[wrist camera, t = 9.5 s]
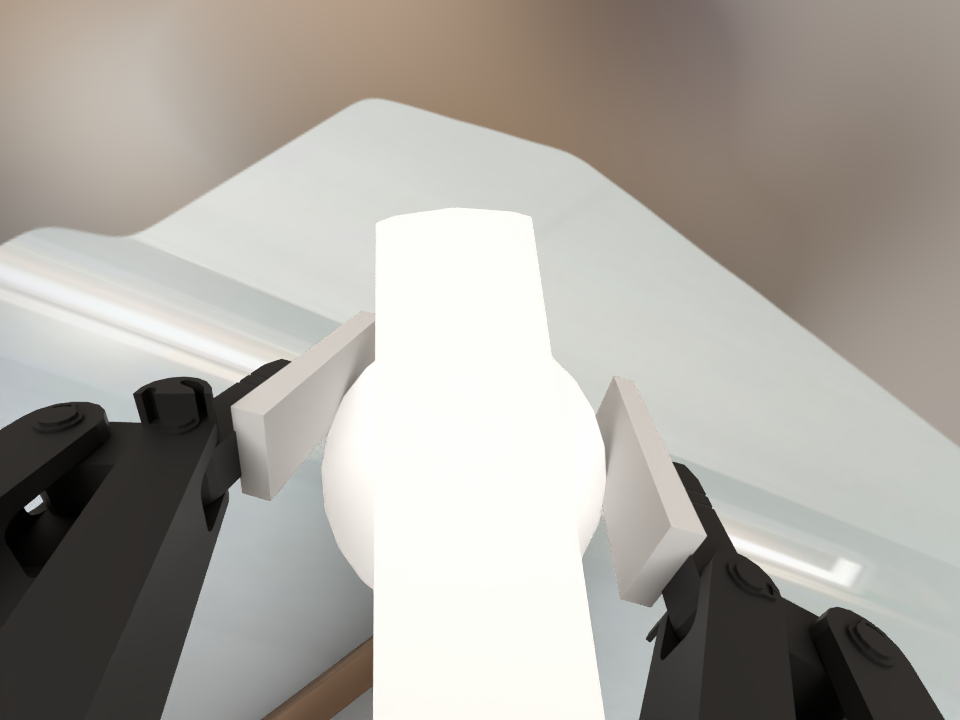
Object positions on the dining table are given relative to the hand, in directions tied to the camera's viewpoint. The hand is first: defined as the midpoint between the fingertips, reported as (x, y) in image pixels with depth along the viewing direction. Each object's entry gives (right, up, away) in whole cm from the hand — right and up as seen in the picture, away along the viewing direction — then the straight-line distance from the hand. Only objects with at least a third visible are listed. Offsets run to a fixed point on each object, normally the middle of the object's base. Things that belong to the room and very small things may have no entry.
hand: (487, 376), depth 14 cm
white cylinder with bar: (-1, -4, +3) cm, 6 cm away
